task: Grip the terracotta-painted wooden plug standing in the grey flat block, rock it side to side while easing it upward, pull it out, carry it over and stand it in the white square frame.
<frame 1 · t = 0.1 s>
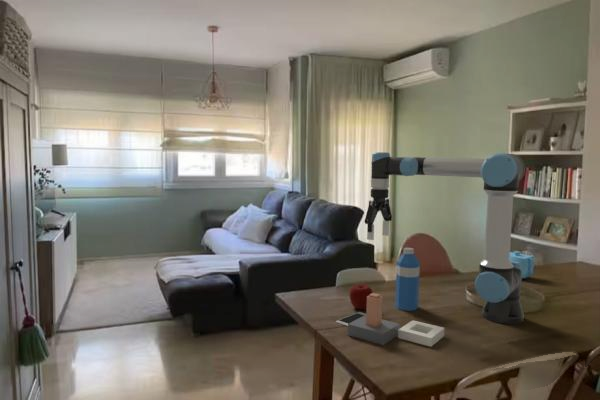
hand: (378, 237, 203), 28 cm above the table, fingers open, 13 cm apart
water bottle: (406, 307, 197), on the table
smartphone: (354, 321, 181), on the table
plug: (374, 314, 166), in the grey flat block
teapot: (512, 276, 250), on the table
white square frame: (421, 336, 165), on the table
apple: (360, 308, 195), on the table
grey flat block: (373, 334, 166), on the table
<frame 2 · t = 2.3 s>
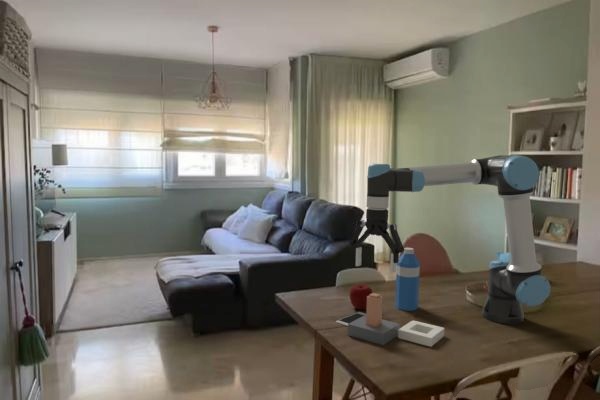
hand: (375, 268, 164), 24 cm above the table, fingers open, 13 cm apart
nothing on the table moved.
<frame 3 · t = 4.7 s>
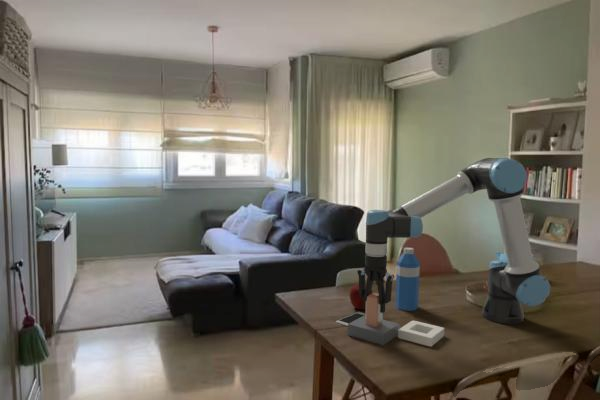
hand: (374, 319, 166), 6 cm above the table, fingers closed on plug, 4 cm apart
plug: (374, 314, 166), in the grey flat block, touching gripper
everything else where it was.
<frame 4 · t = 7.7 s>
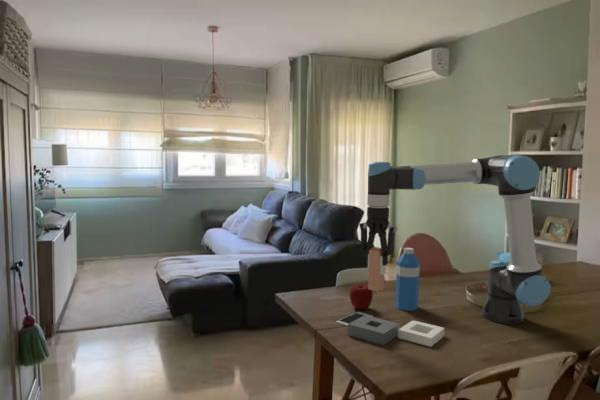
hand: (376, 272, 164), 22 cm above the table, fingers closed on plug, 4 cm apart
plug: (376, 268, 164), point 24 cm above the table, touching gripper
everything else where it was.
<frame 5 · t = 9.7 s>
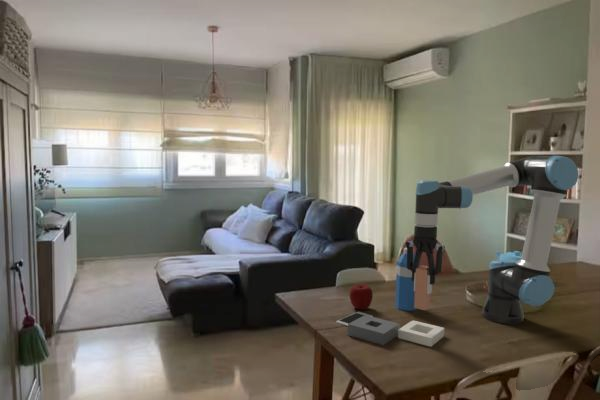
hand: (422, 291, 163), 16 cm above the table, fingers closed on plug, 4 cm apart
plug: (422, 287, 163), point 18 cm above the table, touching gripper
everything else where it was.
when the fingers open (7 cm above the table, at t = 11.2 s): plug drops 1 cm, resting in white square frame.
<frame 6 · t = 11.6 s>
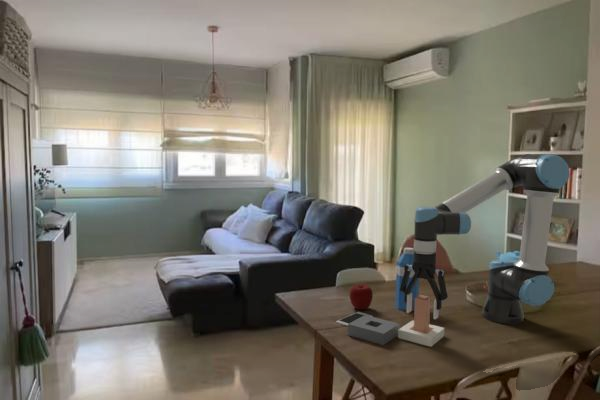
hand: (422, 314, 164), 8 cm above the table, fingers open, 9 cm apart
plug: (421, 316, 164), in the white square frame
everything else where it was.
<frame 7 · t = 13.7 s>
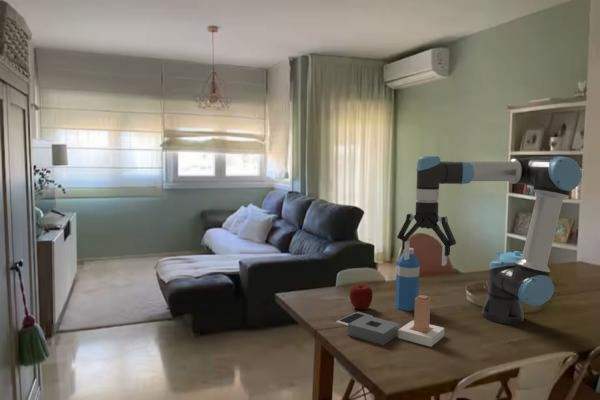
hand: (424, 262, 163), 27 cm above the table, fingers open, 13 cm apart
nothing on the table moved.
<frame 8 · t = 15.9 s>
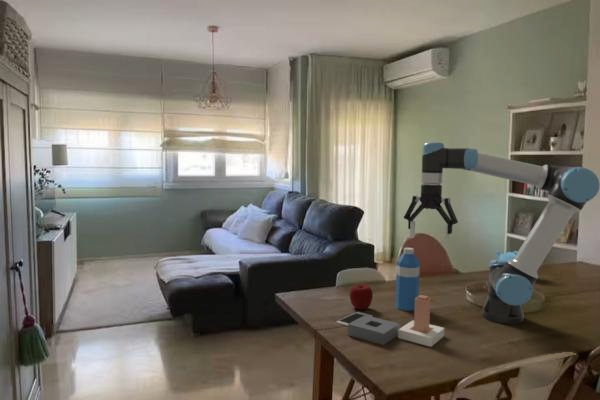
hand: (429, 240, 178), 32 cm above the table, fingers open, 13 cm apart
nothing on the table moved.
at the end: plug 0.0 cm off-centre on the white square frame, point 7.3 cm above the white square frame's base; plug tilted 0°; the gripper is holding nothing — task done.
